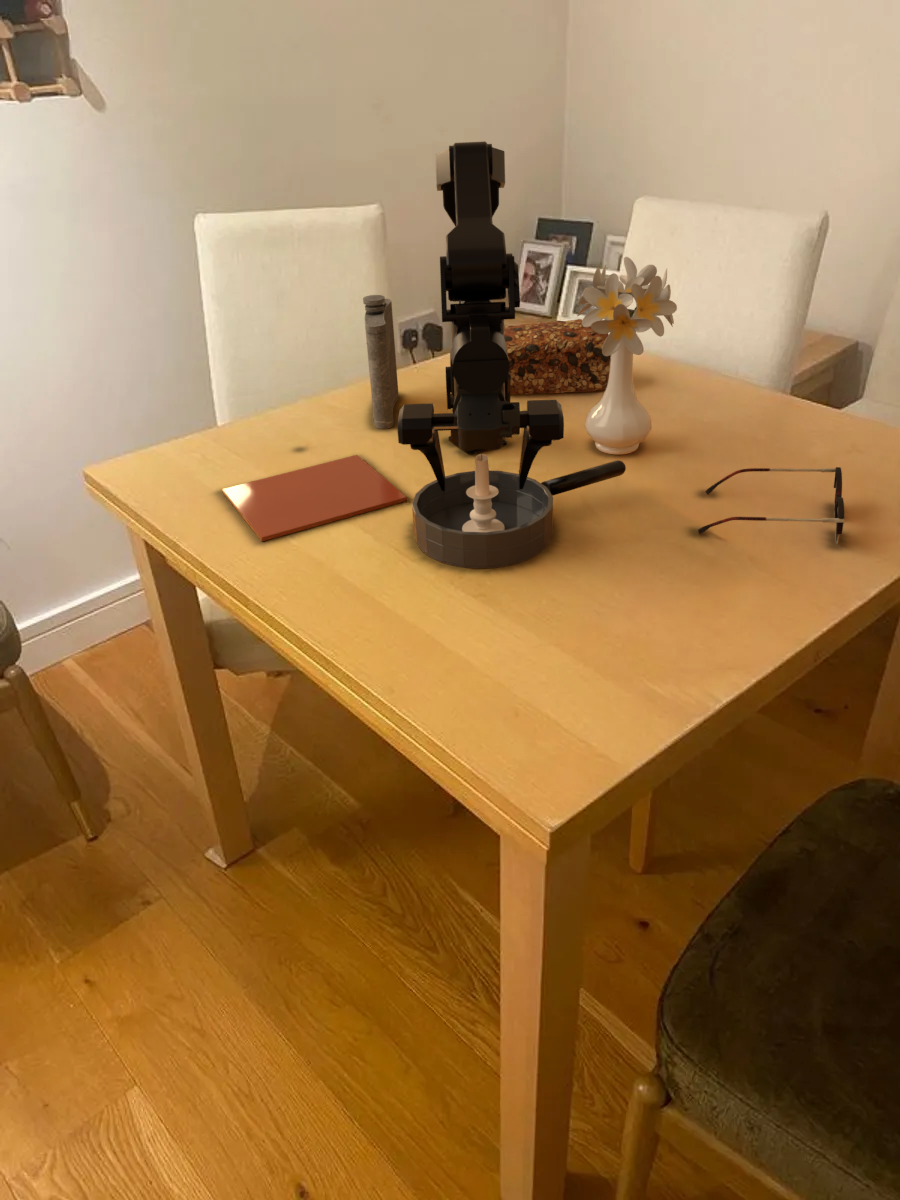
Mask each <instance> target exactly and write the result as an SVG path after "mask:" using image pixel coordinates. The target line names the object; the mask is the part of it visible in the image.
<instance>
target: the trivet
mask: <svg viewBox="0 0 900 1200" xmlns="http://www.w3.org/2000/svg"><path fill="white" fill-rule="evenodd" d="M221 491H222V494H223V495H224V497H225V498H226V499H227V500H228V501H229V503H230V504H231V505H232V506H233V508H234V509H235V510H236V511H237V513H238V514H239V515H240V517H241V518H242V519H243V520H244V521H245V522H246V524H247V525H248V526H249V527H250V528H251V530H252V531H253V533H255V535H256V536H257V537H258V539H259V540H260V541H261V542H265V541H269V540H272V539H276V538H280V537H284V536H287V535H290V534H294V533H297V532H301V531H305V530H308V529H313V528H315V527H318V526H322V525H327V524H330V523H333V522H336V521H341V520H345V519H347V518H351V517H355V516H358V515H361V514H365V513H369V512H372V511H375V510H379V509H383V508H387V507H389V506H394V505H397V504H402V503H404V502H407V501H408V499H407V496H406V495H405V494H404V493H403V492H401V491H400V490H399V489H398V488H397V487H396V486H394V485H393V484H392V483H391V482H390V481H388V479H386V478H385V477H384V476H383V475H381V474H380V473H379V472H378V471H376V469H374V468H373V467H372V466H371V465H369V464H368V463H367V462H366V461H365V460H364V459H362V458H361V457H360V456H359V455H358V454H355V455H351V456H347V457H343V458H339V459H335V460H331V461H327V462H323V463H319V464H316V465H311V466H308V467H305V468H300V469H296V470H291V471H288V472H284V473H280V474H276V475H273V476H268V477H264V478H261V479H257V480H253V481H252V480H251V481H248V482H245V483H242V484H237V485H233V486H229V487H225V488H221Z"/></svg>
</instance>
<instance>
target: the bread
mask: <svg viewBox="0 0 900 1200" xmlns="http://www.w3.org/2000/svg"><path fill="white" fill-rule="evenodd" d="M582 320H583V318H582V319H581V318H577V319H570V320H552V321H549V322H548V321H544V322H540V323H523V324H517V325H516V324H515V325H507V326H506V325H504V339H505V341H506V347H507V353H508V359H509V374H510V375H511V386H510V395H520V396H521V395H527V394H528V395H540V394H559V393H561V394H563V393H567V392H568V393H569V392H570V393H585V392H596V391H597V390H599V391H600V390H601V391H604V390H606V388H607V384H608V379H609V372H610V361H611V355H610V356H605V355H603V354H602V347H603V344H604V342H605V340H606V338H607V337H608V335H609V333H608V334H600V333H597V332H595V331H593V330H592V329H591V326H589V327H583V325H582Z"/></svg>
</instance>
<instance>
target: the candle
mask: <svg viewBox="0 0 900 1200" xmlns="http://www.w3.org/2000/svg"><path fill="white" fill-rule="evenodd" d="M474 471H475V486H472V487H470V488H468V489H467V491H466V494H467V495H468V496H469V497H470V498H473V499H474V503H473V505H474V510H472V511H471V512H470V518H471V519H472V520H469V521H467V522H466V523H465V524H464V525H463V527H462V531H463V532H493V531H501V530H505V526H504V524H503V523H502V522H501V521H499V520H497V519H495V518H496V512H495V510H493V509H491V508H492V502H491V499H492V498H493V497H495V496H497V494H498V492H499V491H498V489H497V488H496V487H494V486H491V485H489V471H490V469H489V457H488V456H487V454H484V453H482V452H480V453H479V454H477V455H476V456H475V458H474Z"/></svg>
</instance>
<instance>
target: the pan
mask: <svg viewBox="0 0 900 1200" xmlns="http://www.w3.org/2000/svg"><path fill="white" fill-rule="evenodd" d="M541 483H542V482H540V481H538V480H537V479H535V478H532V477H529V476H527V479H526V482H525V484H524V487H523V489H519V473H516V472H511V471H510V472H509V471H503V470H489V485H491V486H494V487H496V488H497V489H498V491H499V492H498V494H497V496H495V497H493V498H492V499H491V502H492V508H491V509H493V510H495V512H496V518H495V519H497V520H499V521H501V522H502V523H503V524H504V526H505V530H501V531H493V532H463V531H462V527H463V525H464V524H465V523H466V522H467V521H469V520H472V519H471V518H470V512H471V511H472V510H474V505H473V503H474V499H473V498H470V497H469V496H468V495H467V494H466V491H467V489H468V488H470V487H472V486H475V470H471V471H461V472H457V473H452V474H448V475H445V491H442V490H441V488H440V486H439V483H438V481H437V479H435V480H433V481H431V482H429V483H426V484H425V485H423V487H422V488H420V489H419V490H418V491H417V492H416V493H415V494H414V497H413V500H412V503H411V510H412V523H413V525H412V526H413V536H414V540H415V544H417V547H418V548H419V550H420V551H422V553H423V554H425V555H426V556H428V557H430V558H431V559H432V560H434V561H437V562H439V563H442V564H446V565H449V566H453V567H459V568H465V569H495V568H496V569H497V568H504V567H508V566H509V567H510V566H512V565H516V564H520V563H523V562H525V561H529V560H530V559H532V558H534V557H536V556H537V555H539V554H541V553H542V552H543V551H544V550H545V549H547V547H548V546H549V544H550V543H551V541H552V539H553V529H554V495H553V496H552V494H551V493H550V491H549V490H548V488H547V487H546V486H544V485H543V484H541Z"/></svg>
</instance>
